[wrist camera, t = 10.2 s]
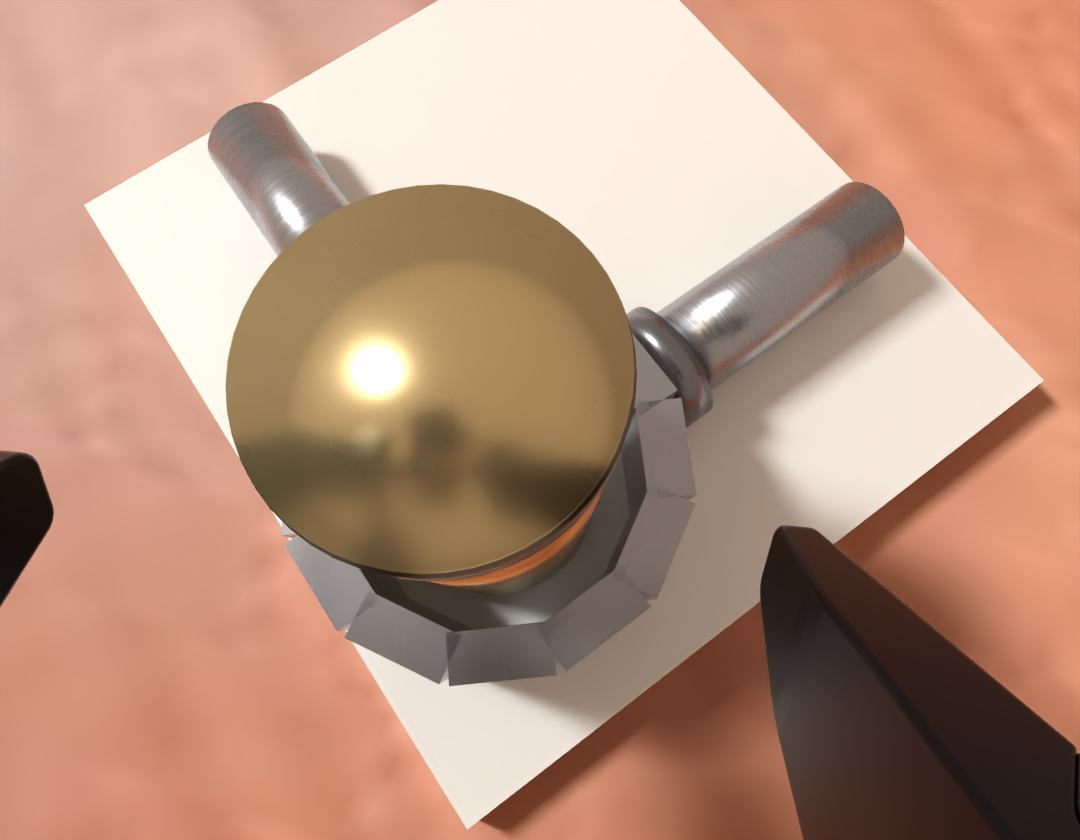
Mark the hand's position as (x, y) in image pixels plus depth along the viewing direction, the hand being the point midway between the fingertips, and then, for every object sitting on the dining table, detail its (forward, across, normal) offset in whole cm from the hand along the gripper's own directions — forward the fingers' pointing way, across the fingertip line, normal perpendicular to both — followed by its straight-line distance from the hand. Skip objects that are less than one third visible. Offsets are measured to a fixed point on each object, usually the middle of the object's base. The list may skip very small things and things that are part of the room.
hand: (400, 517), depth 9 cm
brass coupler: (+8, 0, +5) cm, 10 cm away
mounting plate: (+13, -1, +2) cm, 13 cm away
